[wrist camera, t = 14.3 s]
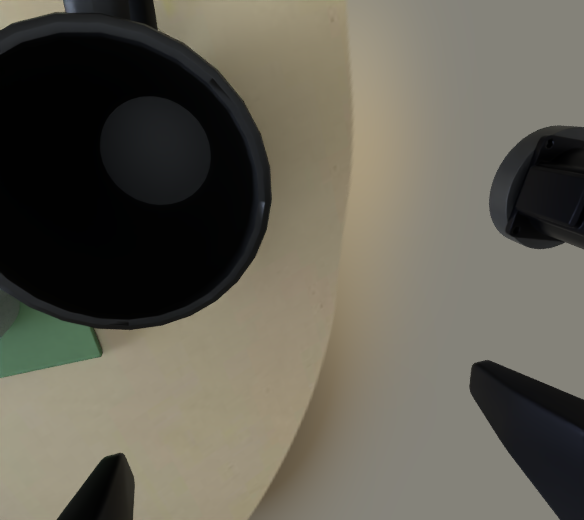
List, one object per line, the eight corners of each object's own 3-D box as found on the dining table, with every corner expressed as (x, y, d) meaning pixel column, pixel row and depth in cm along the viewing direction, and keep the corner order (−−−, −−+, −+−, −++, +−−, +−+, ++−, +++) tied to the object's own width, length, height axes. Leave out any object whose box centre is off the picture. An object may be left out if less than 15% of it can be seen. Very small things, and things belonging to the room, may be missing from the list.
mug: (246, -29, 16) (296, -178, 8) (239, 233, 21) (265, 325, 12) (33, -65, 14) (-223, -318, 6) (76, 232, 19) (-31, 340, 10)
